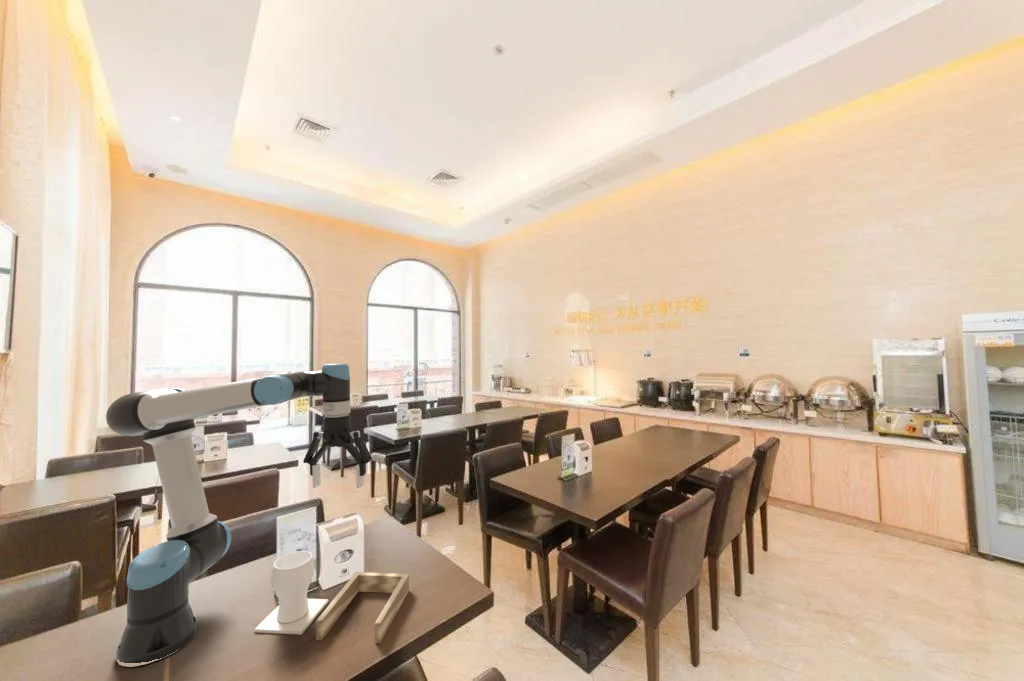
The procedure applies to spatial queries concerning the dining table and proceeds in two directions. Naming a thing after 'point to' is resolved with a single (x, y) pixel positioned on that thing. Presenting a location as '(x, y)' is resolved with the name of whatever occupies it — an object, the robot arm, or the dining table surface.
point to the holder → (367, 583)
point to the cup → (292, 584)
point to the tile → (296, 627)
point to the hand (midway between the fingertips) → (338, 486)
